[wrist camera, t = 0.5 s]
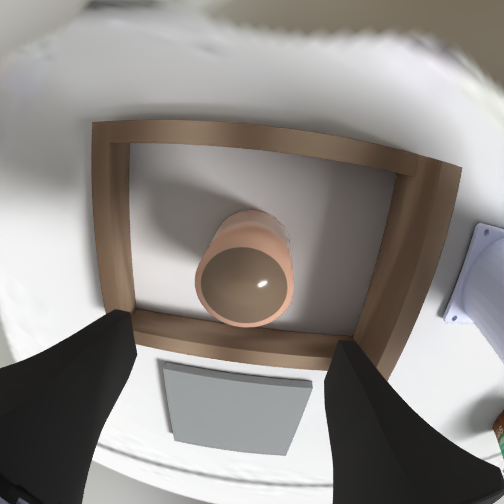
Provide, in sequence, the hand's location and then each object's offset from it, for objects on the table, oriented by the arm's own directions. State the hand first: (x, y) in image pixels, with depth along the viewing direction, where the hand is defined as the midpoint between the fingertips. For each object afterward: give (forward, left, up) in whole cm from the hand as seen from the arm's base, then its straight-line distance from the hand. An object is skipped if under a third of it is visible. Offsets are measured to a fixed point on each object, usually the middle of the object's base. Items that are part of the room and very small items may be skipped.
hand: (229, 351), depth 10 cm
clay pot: (0, 0, -9) cm, 9 cm away
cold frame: (0, 0, -9) cm, 9 cm away
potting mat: (0, +17, -9) cm, 19 cm away
